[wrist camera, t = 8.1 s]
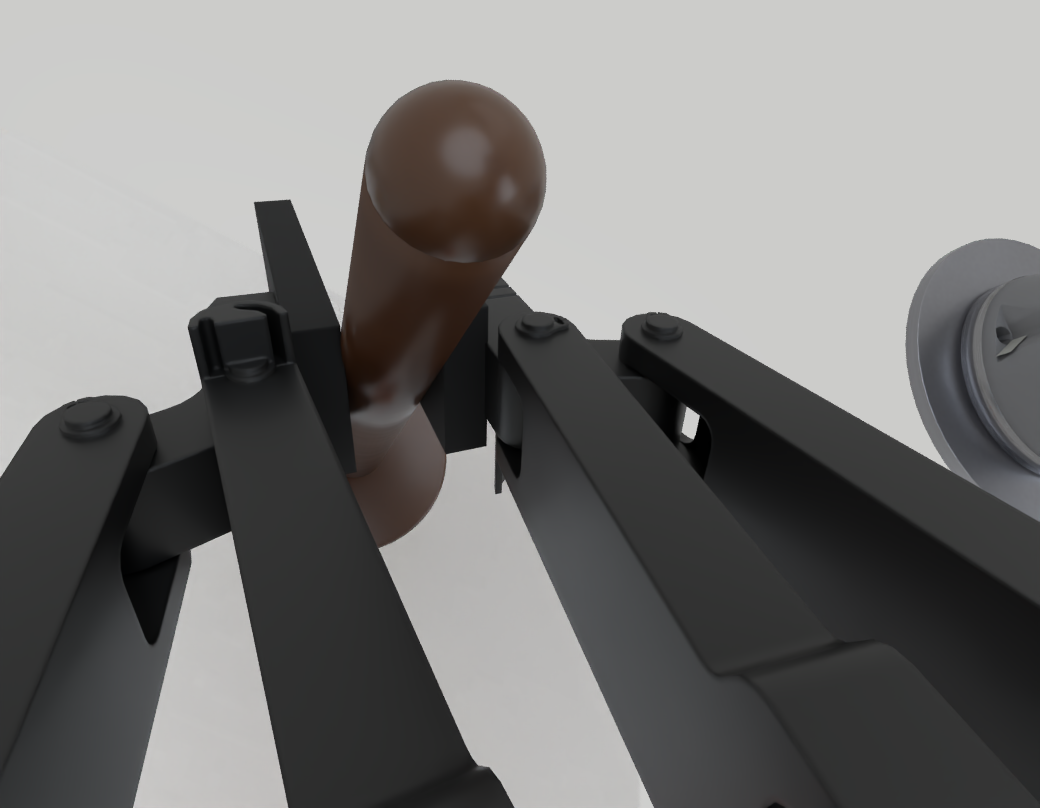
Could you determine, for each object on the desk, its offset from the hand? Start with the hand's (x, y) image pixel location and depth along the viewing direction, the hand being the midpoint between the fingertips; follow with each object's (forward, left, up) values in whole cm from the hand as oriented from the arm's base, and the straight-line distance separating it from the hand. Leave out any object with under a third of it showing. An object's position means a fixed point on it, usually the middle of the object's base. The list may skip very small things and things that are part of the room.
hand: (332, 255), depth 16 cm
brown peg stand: (+1, +4, -7) cm, 8 cm away
